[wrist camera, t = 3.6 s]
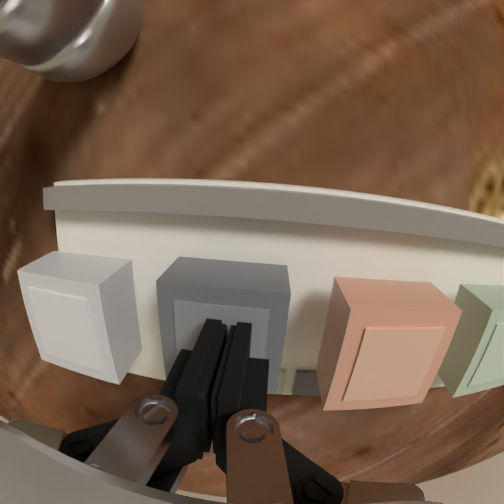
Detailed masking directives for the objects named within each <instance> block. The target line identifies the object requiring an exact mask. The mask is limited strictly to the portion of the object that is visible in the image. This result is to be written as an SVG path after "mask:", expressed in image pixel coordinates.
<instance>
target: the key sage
mask: <svg viewBox="0 0 504 504" xmlns="http://www.w3.org/2000/svg"><path fill="white" fill-rule="evenodd" d="M454 304H456V305H457V306H458V307H459V308H460V309H461V310H462V313H461V316H460V319H459V322H458V325H457V327H456V330H455V332H454V335H453V338H452V340H451V343H450V345H449V347H448V350H447V352H446V354H445V357H444V359H443V361H442V363H441V366H440V368H439V370H438V372H437V374H438V375H439V377H440V379H441V380H442V382H443V383H444V385H445V386H446V388H447V390H448V391H449V393H450V394H451V396H452V397H457V396H462V395H467V394H471V393H475V392H479V391H483V390H487V389H491V388H495V387H498V386H502V385H504V285H478V284H460V286H459V289H458V292H457V296H456V299H455V302H454Z"/></svg>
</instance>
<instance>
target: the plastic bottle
mask: <svg viewBox="0 0 504 504" xmlns="http://www.w3.org/2000/svg"><path fill="white" fill-rule="evenodd" d="M142 22H143V8H142V5H141V3H140V1H139V0H0V57H3V58H5V59H8V60H11V61H14V62H16V63H19V64H21V65H22V66H23V67H25V68H26V69H28V70H29V71H31V72H33V73H35V74H38V75H40V76H42V77H44V78H46V79H48V80H50V81H57V82H82V81H86V80H89V79H92V78H94V77H96V76H98V75H100V74H102V73H104V72H106V71H107V70H109V69H110V68H112V67H113V66H115V65H116V64H117V63H118V62H119V61H120V60H122V59H123V57H124V56H125V55H126V54H127V53H128V52H129V50H130V49H131V48H132V46H133V45H134V43H135V41H136V39H137V37H138V34H139V32H140V29H141V26H142Z"/></svg>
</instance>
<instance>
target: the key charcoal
mask: <svg viewBox="0 0 504 504" xmlns="http://www.w3.org/2000/svg"><path fill="white" fill-rule="evenodd" d="M156 289H157V303H158V314H159V325H160V335H161V344H162V352H163V360H164V367H165V374H166V378H167V376H168V374H169V372H170V370H171V368H172V366H173V364H174V362H175V360H176V358H177V356H178V354H179V352H180V350H181V349H187V350H193V348H194V346H195V344H196V341H197V339H198V337H199V334H200V332H201V330H202V328H203V325H204V323H205V321H206V319H207V318H210V319H218V320H222V324H227V337H228V334H229V330H230V327H231V325H236V324H237V322H246V323H252V333H251V346H250V358H261V359H269V375H268V392H267V393H275V394H276V393H277V386H278V380H279V374H280V368H281V361H282V355H283V348H284V341H285V334H286V327H287V320H288V312H289V305H290V297H291V290H290V283H289V276H288V268H287V265H276V264H264V263H251V262H239V261H227V260H215V259H203V258H191V257H180V256H179V257H178V258H177V259H176V260H175V261H174V262H173V263H172V264H171V265H170V266H169V267H168V269H167V270H166V271H165V272H164V273H163V274H162V275H161V276H160V277H159V278H158V279H157V280H156Z"/></svg>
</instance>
